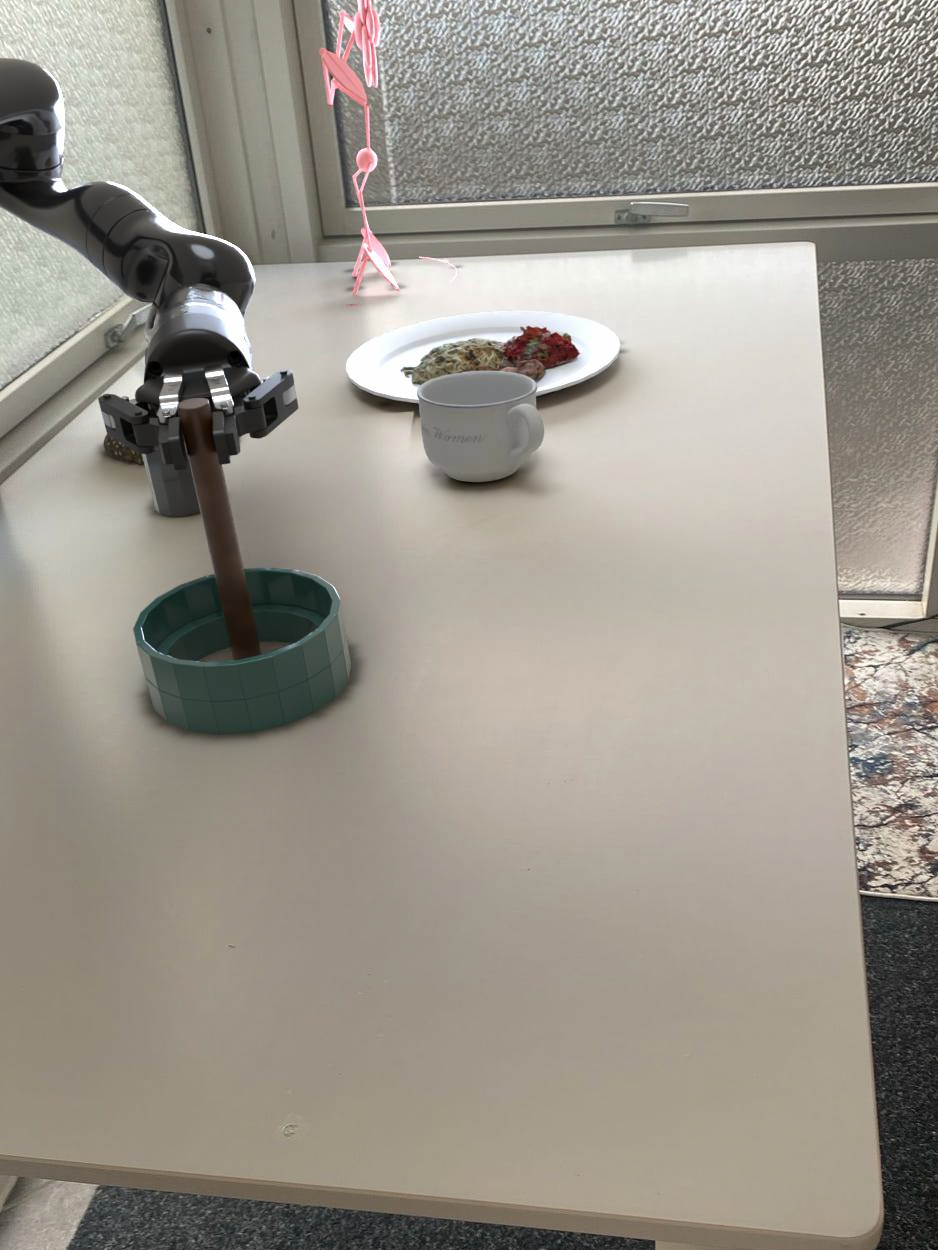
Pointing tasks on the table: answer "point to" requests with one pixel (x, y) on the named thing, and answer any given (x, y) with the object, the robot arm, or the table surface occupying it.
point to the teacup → (479, 423)
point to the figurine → (367, 39)
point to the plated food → (484, 351)
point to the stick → (219, 526)
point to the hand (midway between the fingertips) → (199, 451)
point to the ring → (252, 685)
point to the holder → (171, 487)
